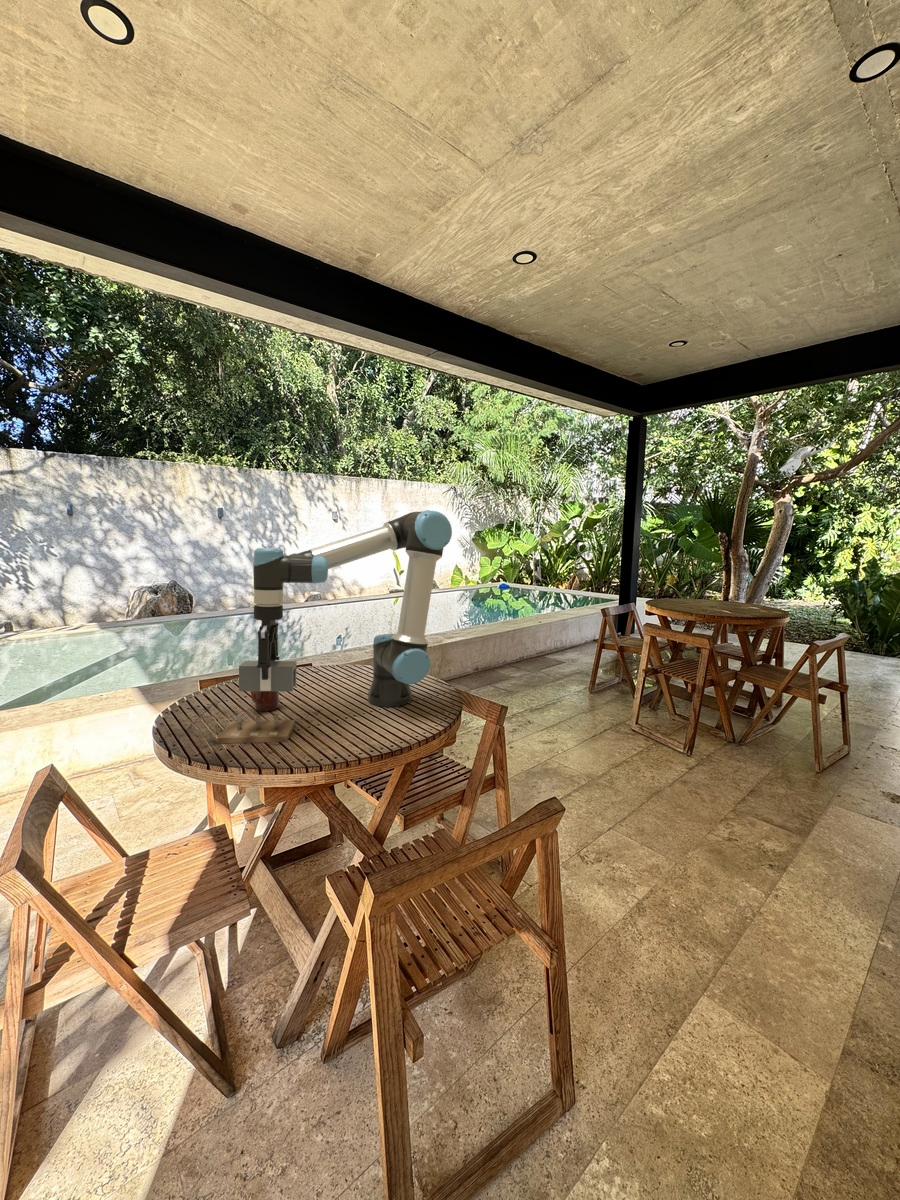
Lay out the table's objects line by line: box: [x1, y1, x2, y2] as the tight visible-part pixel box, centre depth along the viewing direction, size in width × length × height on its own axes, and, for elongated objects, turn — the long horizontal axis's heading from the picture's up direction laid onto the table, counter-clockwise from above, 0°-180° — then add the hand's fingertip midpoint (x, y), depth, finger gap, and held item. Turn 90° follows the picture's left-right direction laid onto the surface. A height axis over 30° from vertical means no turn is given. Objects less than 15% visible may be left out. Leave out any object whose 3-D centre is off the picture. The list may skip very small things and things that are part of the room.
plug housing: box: [238, 660, 297, 692], centre depth 136 cm, size 14×6×7 cm, turn 97°
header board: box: [216, 713, 296, 745], centre depth 138 cm, size 18×12×6 cm, turn 97°
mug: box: [250, 691, 280, 713], centre depth 156 cm, size 12×9×10 cm
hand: (268, 686), depth 137 cm, fingers closed on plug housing, 6 cm apart
